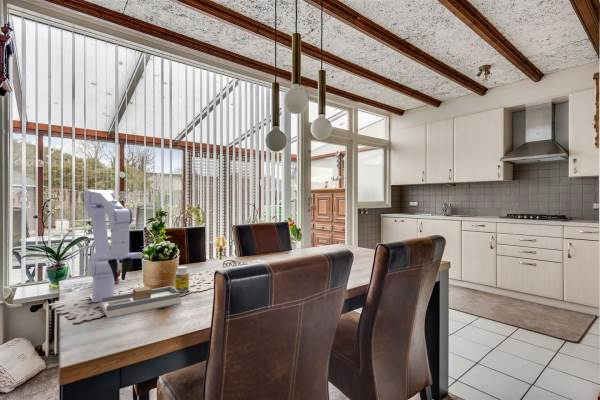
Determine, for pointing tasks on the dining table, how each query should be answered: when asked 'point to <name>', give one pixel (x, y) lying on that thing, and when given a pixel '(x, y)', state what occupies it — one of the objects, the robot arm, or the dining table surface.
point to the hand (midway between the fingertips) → (119, 280)
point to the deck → (139, 301)
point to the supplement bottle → (182, 279)
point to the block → (141, 293)
